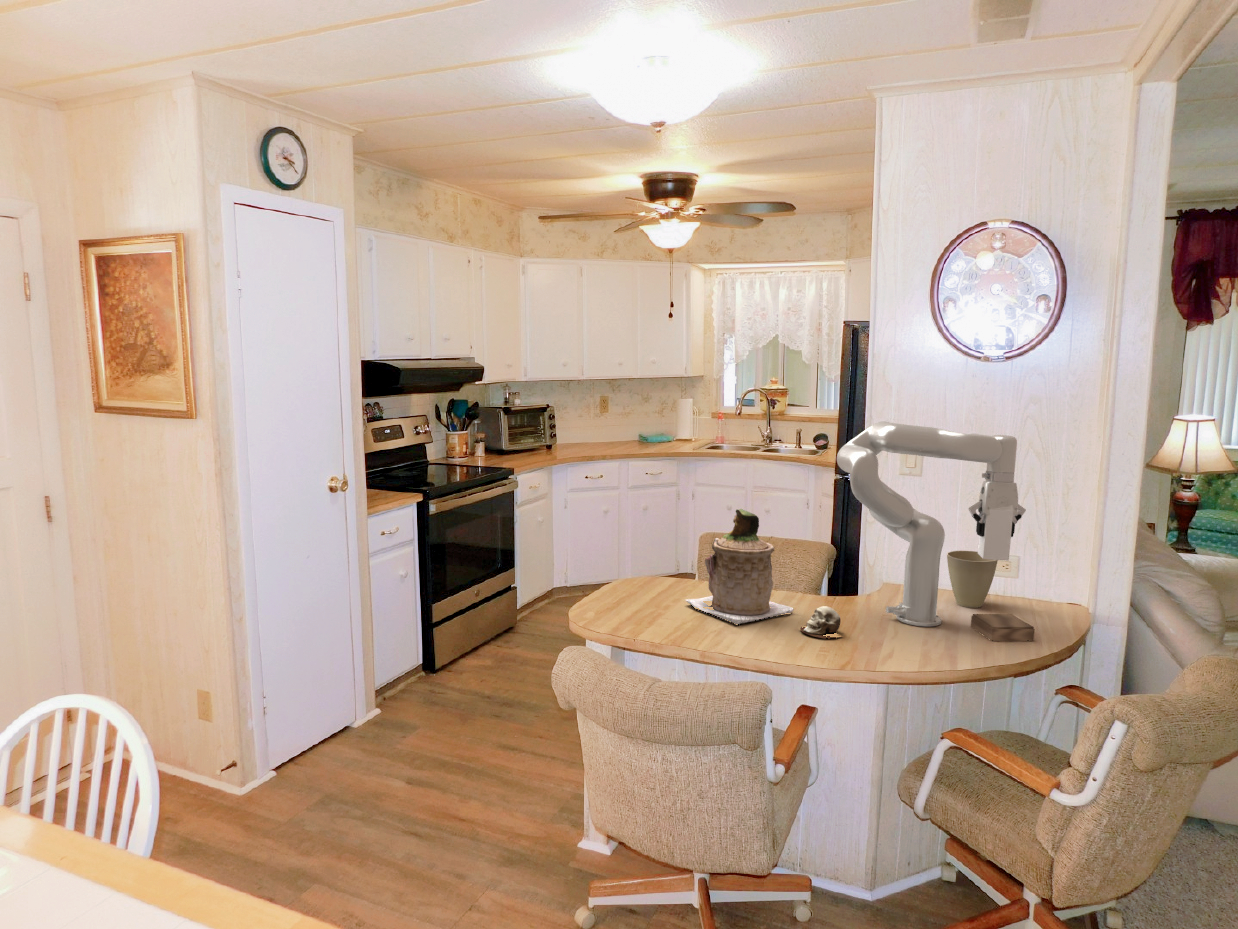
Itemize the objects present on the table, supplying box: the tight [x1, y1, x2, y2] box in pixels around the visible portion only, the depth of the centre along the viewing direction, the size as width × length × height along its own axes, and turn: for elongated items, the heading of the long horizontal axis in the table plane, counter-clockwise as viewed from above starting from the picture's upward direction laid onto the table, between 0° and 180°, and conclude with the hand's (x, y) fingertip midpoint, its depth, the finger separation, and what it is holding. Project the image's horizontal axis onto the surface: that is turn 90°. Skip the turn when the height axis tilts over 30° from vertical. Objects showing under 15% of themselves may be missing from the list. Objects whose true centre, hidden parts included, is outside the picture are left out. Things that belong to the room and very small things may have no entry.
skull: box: [799, 605, 841, 640], centre depth 233 cm, size 12×10×10 cm
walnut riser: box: [970, 613, 1035, 642], centre depth 234 cm, size 12×12×4 cm
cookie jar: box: [684, 508, 794, 625], centre depth 251 cm, size 25×25×32 cm
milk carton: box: [977, 505, 1013, 562], centre depth 244 cm, size 7×7×19 cm
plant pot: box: [946, 550, 999, 609], centre depth 261 cm, size 15×15×16 cm
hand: (994, 535), depth 244 cm, fingers closed on milk carton, 8 cm apart
